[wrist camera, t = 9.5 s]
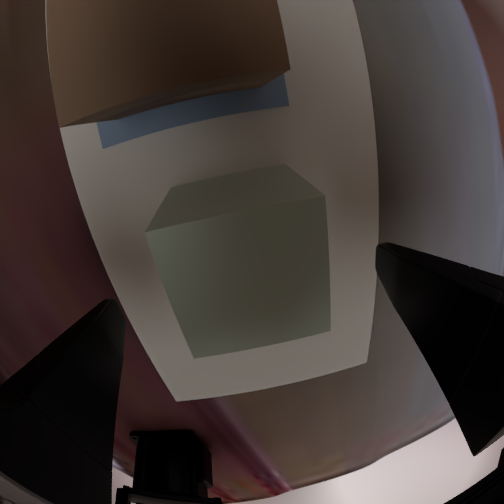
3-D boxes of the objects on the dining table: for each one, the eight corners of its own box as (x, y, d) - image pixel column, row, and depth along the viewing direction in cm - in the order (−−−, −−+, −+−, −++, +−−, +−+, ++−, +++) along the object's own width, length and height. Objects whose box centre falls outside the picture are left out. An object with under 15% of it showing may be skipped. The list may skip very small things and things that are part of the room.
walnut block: (118, 119, 10) (59, 127, 6) (100, 2, 7) (48, -38, 3) (261, 87, 10) (290, 69, 6) (238, -31, 8) (250, -95, 3)
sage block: (198, 284, 14) (193, 358, 10) (171, 187, 12) (144, 232, 8) (298, 264, 14) (330, 331, 10) (285, 163, 12) (325, 195, 8)
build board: (177, 393, 19) (176, 403, 18) (52, -8, 7) (43, -13, 6) (362, 355, 20) (367, 364, 19) (324, -63, 7) (330, -71, 6)
